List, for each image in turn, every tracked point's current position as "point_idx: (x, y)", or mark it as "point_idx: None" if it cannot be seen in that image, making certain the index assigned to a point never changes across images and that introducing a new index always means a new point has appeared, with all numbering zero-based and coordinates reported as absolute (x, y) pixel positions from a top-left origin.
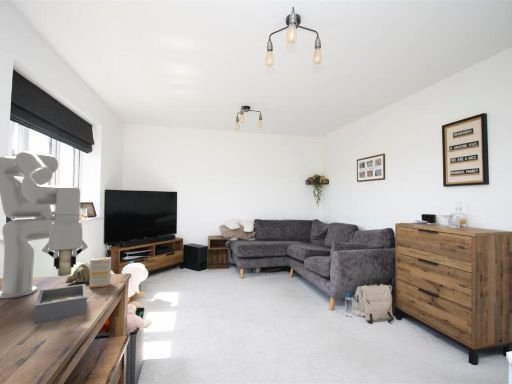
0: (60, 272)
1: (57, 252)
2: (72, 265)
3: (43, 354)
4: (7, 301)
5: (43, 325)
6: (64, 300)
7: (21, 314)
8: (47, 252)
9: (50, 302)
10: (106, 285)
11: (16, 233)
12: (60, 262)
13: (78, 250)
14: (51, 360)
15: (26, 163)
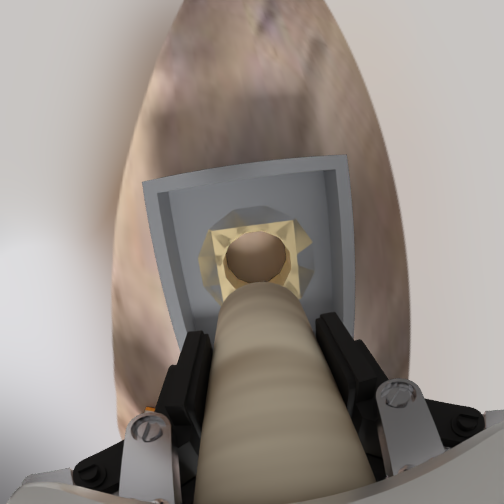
0: (289, 300)
1: (401, 449)
2: (194, 340)
3: None
4: (404, 371)
5: (290, 131)
6: (234, 167)
7: (372, 262)
8: (485, 421)
9: (292, 165)
10: (152, 410)
11: None
12: (314, 355)
13: (107, 481)
14: None
15: None
